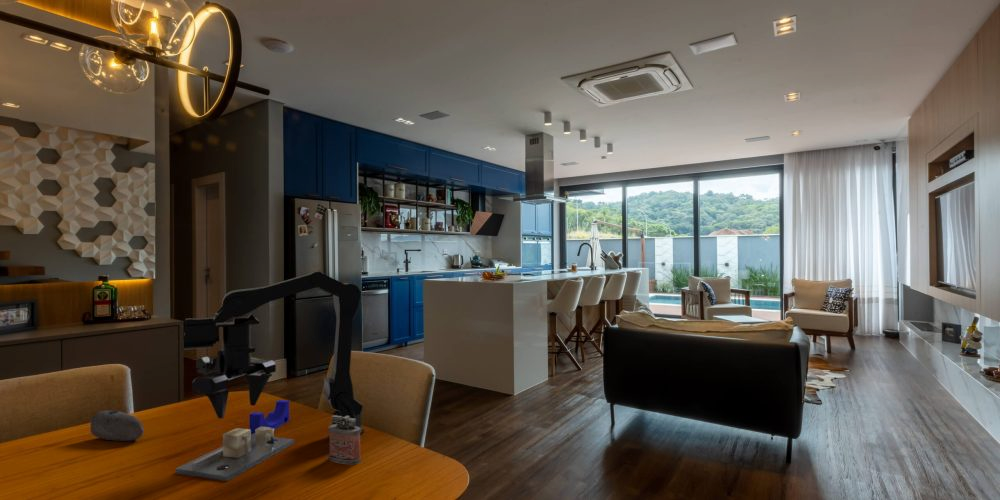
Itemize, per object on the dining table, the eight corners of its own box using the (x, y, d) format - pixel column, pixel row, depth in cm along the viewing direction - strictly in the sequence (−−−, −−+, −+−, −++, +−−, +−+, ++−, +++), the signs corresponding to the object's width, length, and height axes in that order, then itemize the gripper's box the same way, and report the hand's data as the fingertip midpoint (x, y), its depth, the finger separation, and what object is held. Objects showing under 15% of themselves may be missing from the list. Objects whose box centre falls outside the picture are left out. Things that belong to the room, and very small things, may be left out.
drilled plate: (293, 443, 117) (293, 427, 117) (227, 481, 98) (227, 461, 98) (248, 438, 121) (248, 422, 121) (175, 473, 101) (175, 454, 101)
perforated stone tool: (151, 438, 121) (151, 411, 121) (130, 446, 116) (130, 418, 116) (109, 433, 125) (109, 407, 125) (87, 440, 120) (87, 413, 120)
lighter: (364, 459, 107) (363, 415, 107) (355, 465, 104) (354, 420, 104) (335, 454, 110) (334, 412, 110) (325, 460, 107) (325, 417, 107)
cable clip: (275, 420, 134) (274, 399, 134) (289, 421, 133) (289, 400, 133) (244, 436, 122) (244, 413, 122) (259, 437, 121) (259, 414, 121)
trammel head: (254, 451, 110) (254, 430, 110) (240, 458, 106) (240, 436, 106) (237, 449, 111) (237, 428, 111) (223, 456, 107) (222, 434, 107)
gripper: (241, 336, 120) (241, 397, 120) (172, 351, 102) (172, 422, 102) (277, 337, 117) (277, 400, 117) (212, 353, 99) (213, 427, 99)
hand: (237, 411), depth 109 cm, fingers open, 9 cm apart
